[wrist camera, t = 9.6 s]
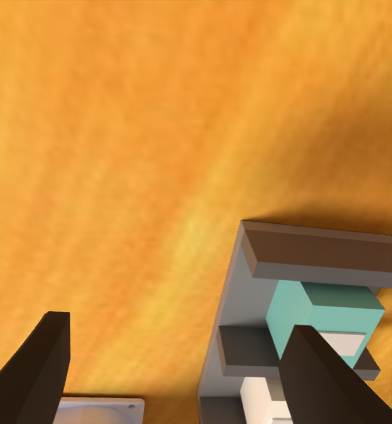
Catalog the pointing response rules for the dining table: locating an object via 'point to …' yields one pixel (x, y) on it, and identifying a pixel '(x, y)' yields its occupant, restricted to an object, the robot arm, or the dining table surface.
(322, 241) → the gray shelf unit
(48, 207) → the dining table surface
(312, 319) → the teal box
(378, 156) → the dining table surface
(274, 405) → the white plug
